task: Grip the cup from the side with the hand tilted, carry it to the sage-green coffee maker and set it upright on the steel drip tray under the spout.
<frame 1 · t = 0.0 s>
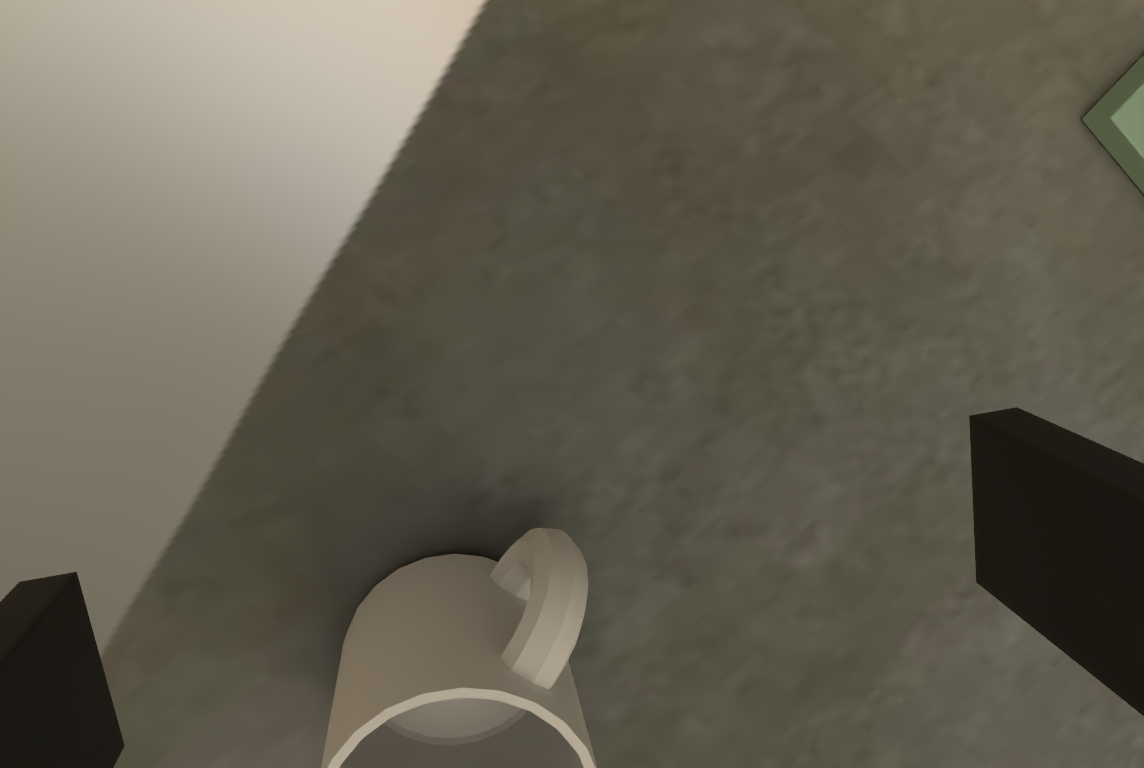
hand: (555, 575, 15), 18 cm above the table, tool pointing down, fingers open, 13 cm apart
cup: (474, 612, 34), on the table
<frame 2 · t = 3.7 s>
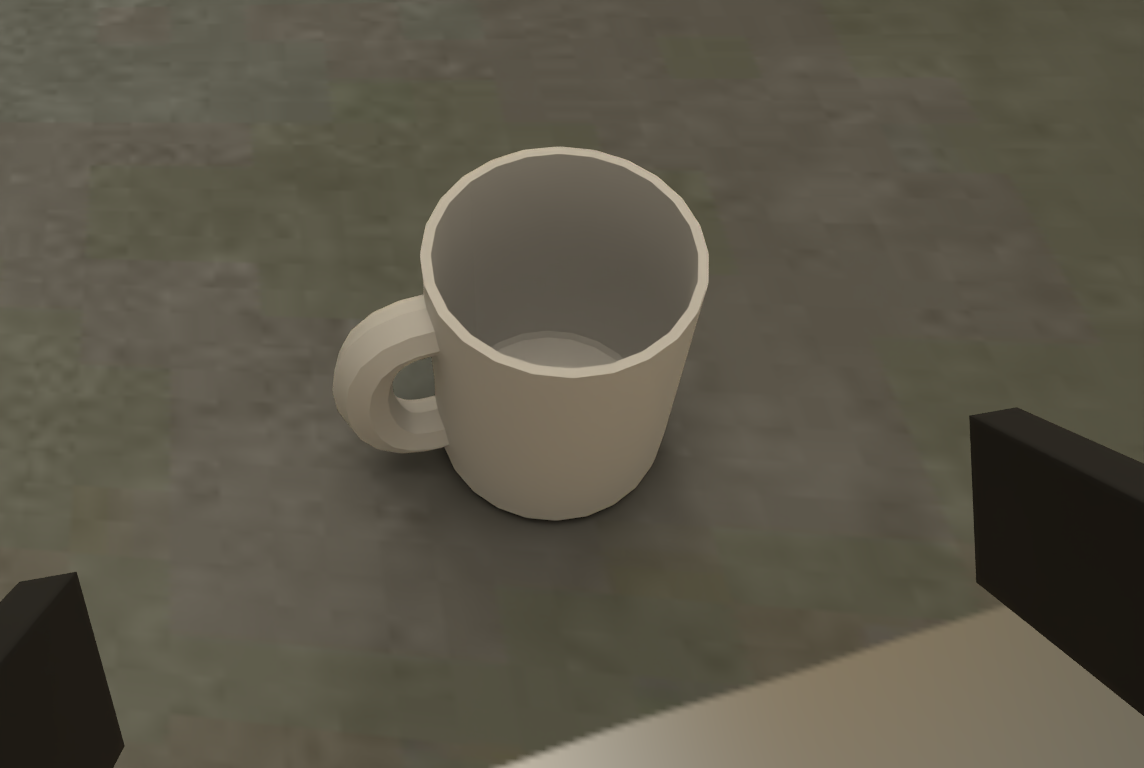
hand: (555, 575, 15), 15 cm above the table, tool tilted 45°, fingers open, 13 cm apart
cup: (509, 437, 33), on the table
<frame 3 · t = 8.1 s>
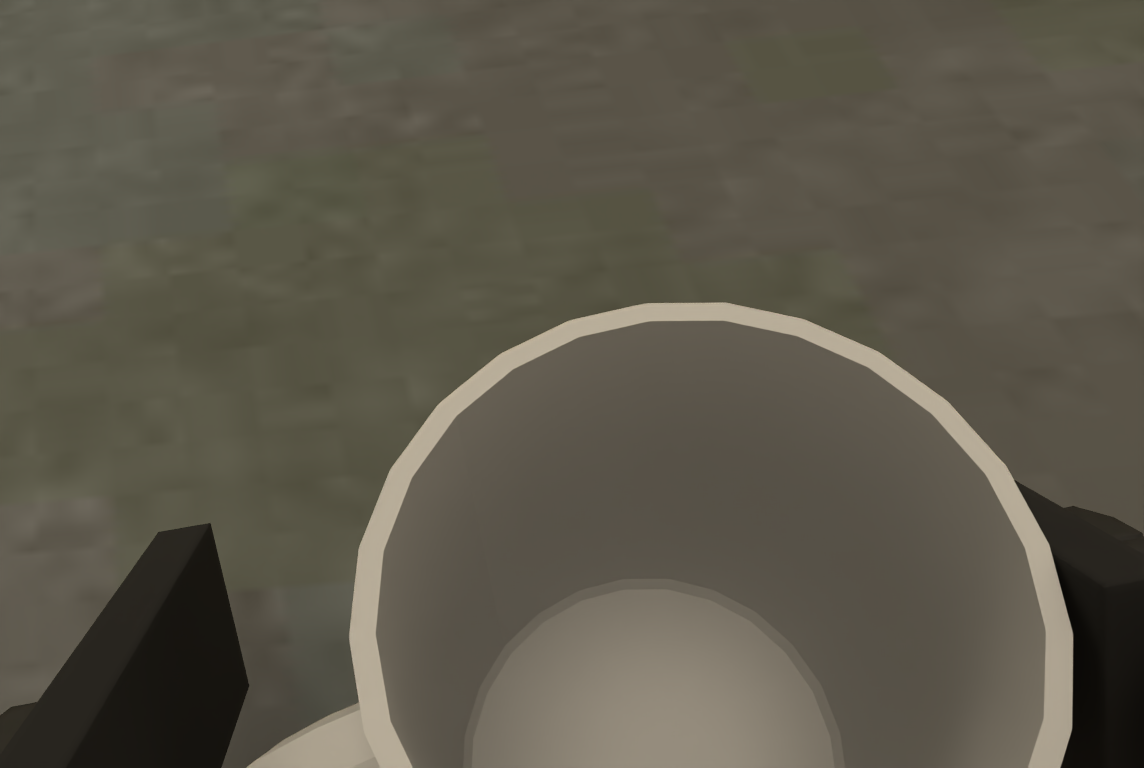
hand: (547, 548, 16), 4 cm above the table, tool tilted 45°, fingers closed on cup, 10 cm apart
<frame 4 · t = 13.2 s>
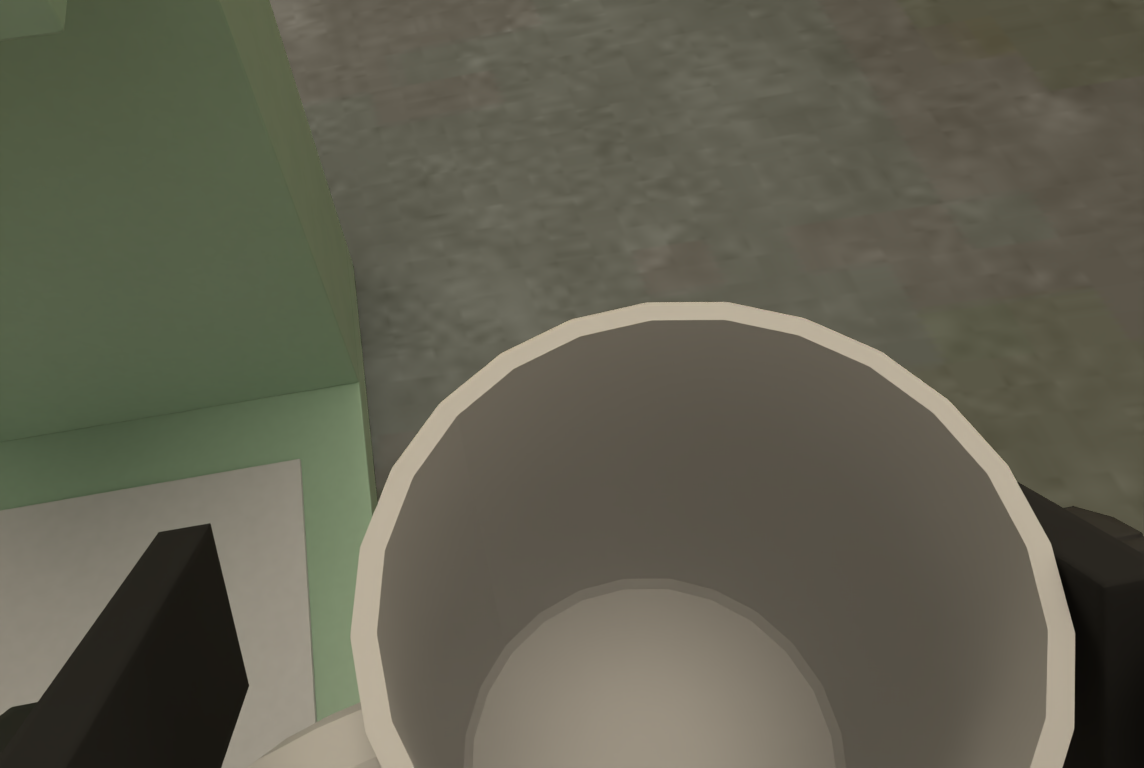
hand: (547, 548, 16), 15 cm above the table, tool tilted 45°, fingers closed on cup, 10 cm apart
coffee maker: (153, 539, 32), on the table
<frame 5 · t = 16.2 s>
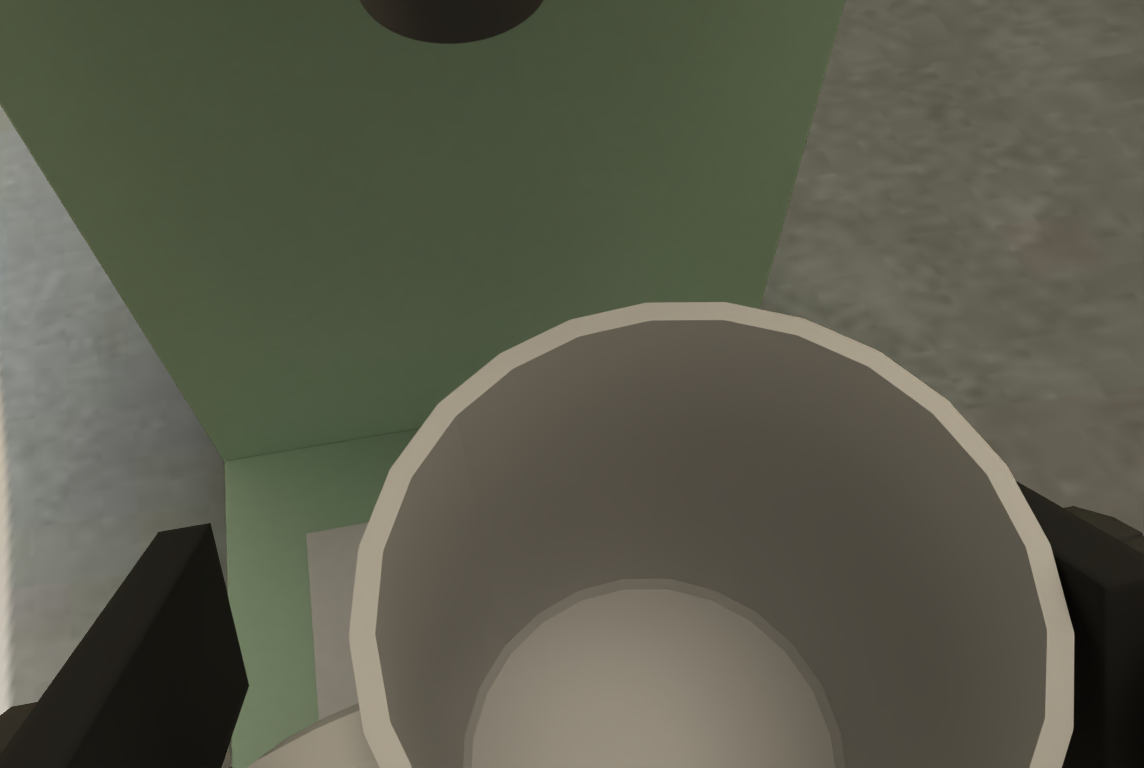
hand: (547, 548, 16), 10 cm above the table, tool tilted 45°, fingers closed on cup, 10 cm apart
coffee maker: (514, 559, 27), on the table
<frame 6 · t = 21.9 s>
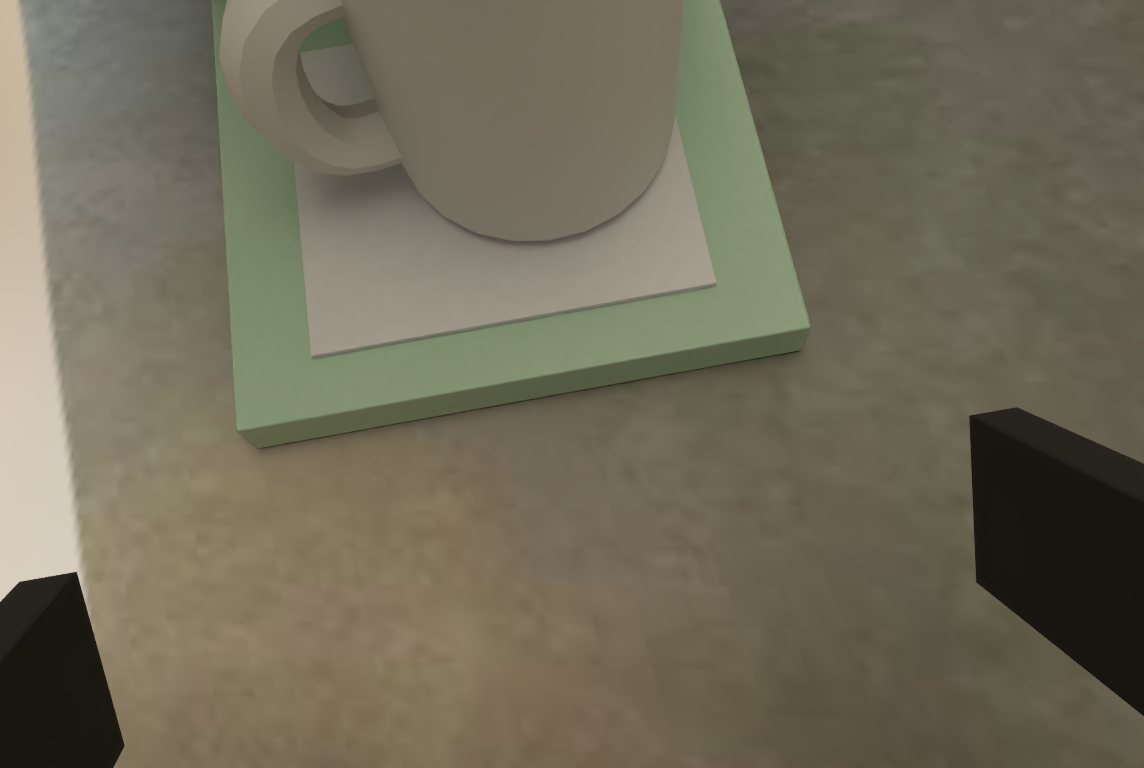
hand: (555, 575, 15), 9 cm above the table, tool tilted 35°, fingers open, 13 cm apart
coffee maker: (478, 91, 29), on the table
cup: (486, 150, 27), point 2 cm above the table, touching coffee maker
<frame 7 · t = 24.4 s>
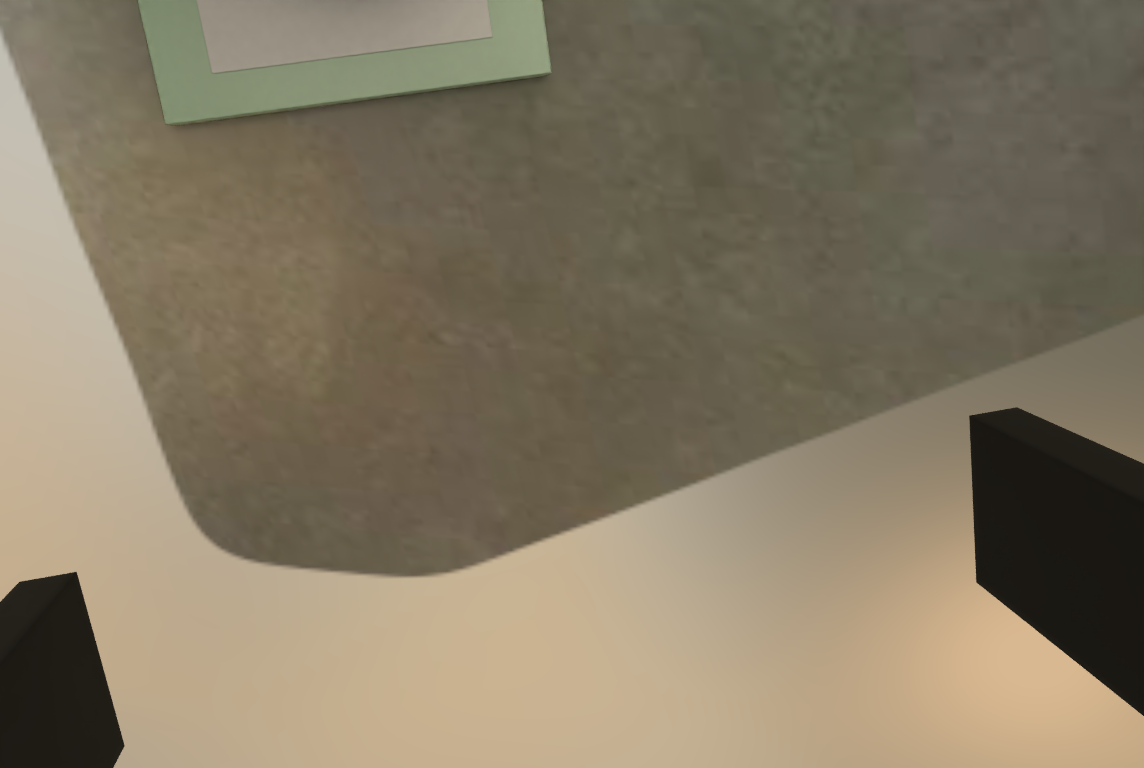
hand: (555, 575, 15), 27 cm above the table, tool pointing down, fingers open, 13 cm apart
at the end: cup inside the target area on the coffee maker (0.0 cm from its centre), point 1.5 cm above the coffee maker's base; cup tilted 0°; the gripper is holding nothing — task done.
